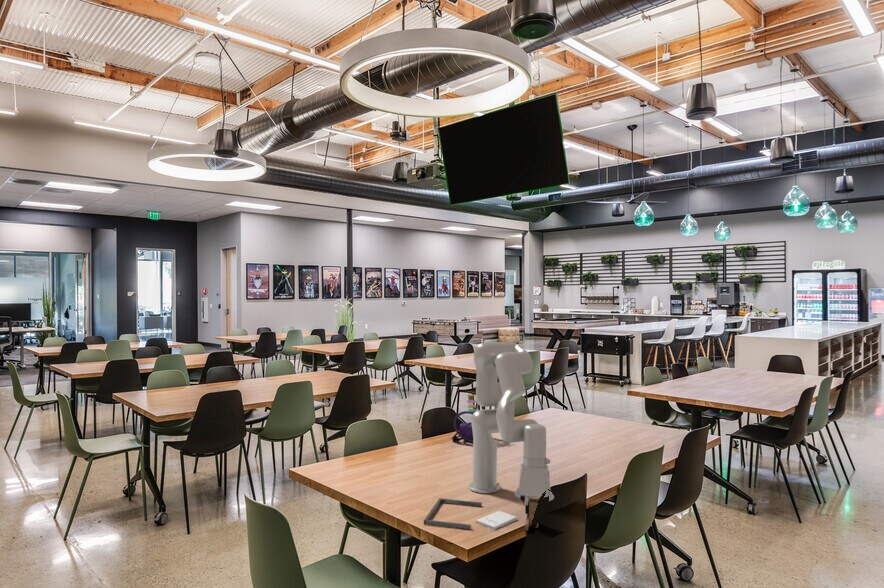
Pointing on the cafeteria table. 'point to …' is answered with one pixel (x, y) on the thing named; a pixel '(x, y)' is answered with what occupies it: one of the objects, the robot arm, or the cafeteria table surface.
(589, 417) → the cafeteria table surface
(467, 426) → the decorative bottle
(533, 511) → the pusher
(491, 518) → the external hard drive
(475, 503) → the bay
